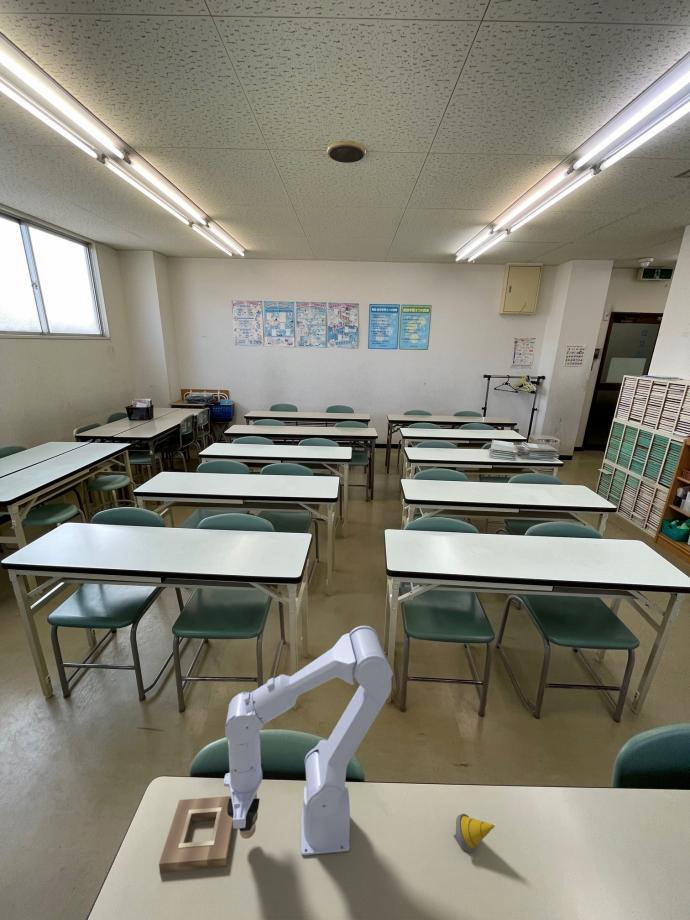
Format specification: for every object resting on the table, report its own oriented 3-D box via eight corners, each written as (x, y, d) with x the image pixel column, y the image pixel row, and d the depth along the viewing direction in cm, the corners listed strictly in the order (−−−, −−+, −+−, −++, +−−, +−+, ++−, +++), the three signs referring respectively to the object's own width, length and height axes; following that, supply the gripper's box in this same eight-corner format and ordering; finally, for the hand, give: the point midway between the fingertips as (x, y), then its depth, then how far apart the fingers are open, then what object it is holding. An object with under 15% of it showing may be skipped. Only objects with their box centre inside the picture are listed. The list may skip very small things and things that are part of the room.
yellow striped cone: (457, 819, 80) (497, 809, 76) (464, 855, 75) (507, 847, 71) (442, 815, 78) (482, 804, 73) (448, 852, 73) (491, 843, 69)
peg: (259, 817, 76) (258, 785, 75) (256, 840, 72) (255, 806, 71) (239, 819, 76) (238, 787, 74) (235, 842, 72) (234, 808, 70)
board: (237, 803, 82) (236, 795, 81) (225, 866, 71) (225, 857, 70) (179, 807, 81) (179, 799, 80) (159, 872, 70) (158, 863, 69)
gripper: (231, 725, 78) (234, 779, 80) (213, 800, 63) (217, 863, 66) (266, 722, 78) (267, 776, 81) (255, 797, 64) (258, 859, 67)
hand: (247, 815), depth 73 cm, fingers closed on peg, 4 cm apart
